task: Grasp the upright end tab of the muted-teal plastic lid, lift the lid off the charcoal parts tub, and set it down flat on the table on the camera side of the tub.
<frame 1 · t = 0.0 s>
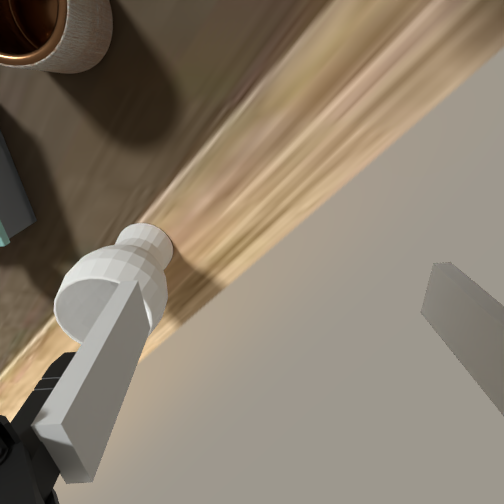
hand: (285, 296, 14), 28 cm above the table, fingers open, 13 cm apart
cup: (146, 247, 44), on the table
planter: (61, 12, 32), on the table
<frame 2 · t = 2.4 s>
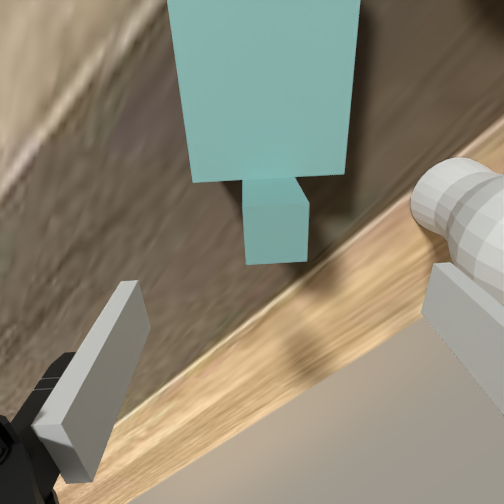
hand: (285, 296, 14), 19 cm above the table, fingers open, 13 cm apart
cup: (446, 194, 32), on the table
lid: (264, 50, 21), point 6 cm above the table, touching tub
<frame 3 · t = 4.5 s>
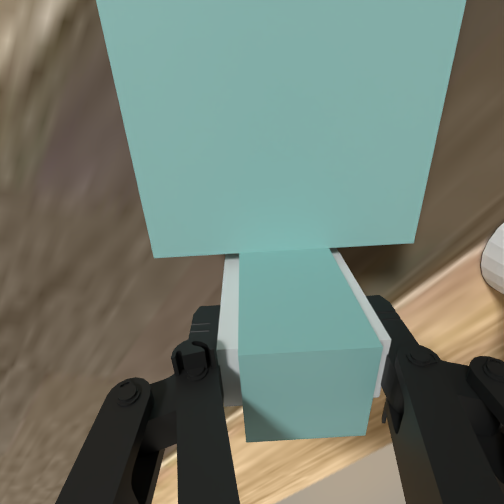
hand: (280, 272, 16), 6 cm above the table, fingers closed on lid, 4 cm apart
lid: (280, 27, 11), point 6 cm above the table, touching gripper, tub
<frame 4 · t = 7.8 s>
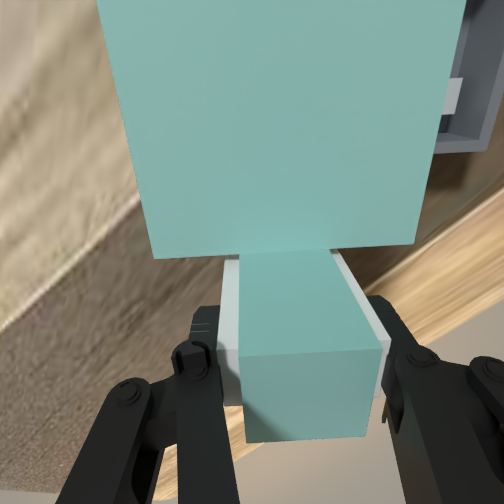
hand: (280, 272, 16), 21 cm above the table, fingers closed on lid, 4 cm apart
tub: (411, 56, 30), on the table
lid: (280, 28, 11), point 21 cm above the table, touching gripper
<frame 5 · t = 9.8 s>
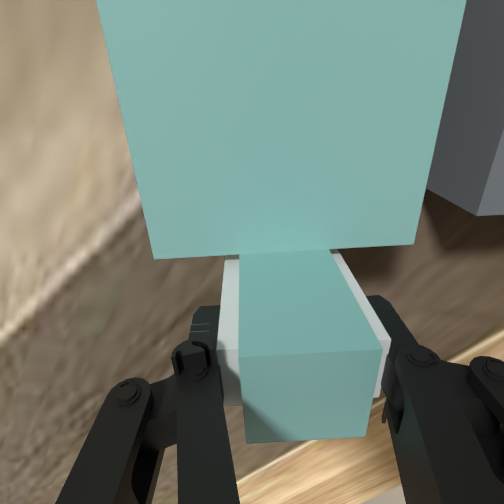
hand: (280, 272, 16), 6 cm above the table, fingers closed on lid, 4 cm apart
lid: (280, 28, 11), point 7 cm above the table, touching gripper
when the fingers open (1 cm above the table, at t = 11.4 s): lid drops 2 cm, on the table.
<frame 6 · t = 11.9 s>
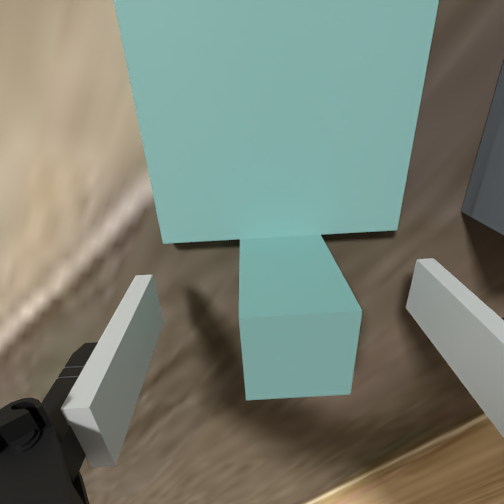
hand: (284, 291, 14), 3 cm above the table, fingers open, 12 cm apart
lid: (275, 37, 12), on the table
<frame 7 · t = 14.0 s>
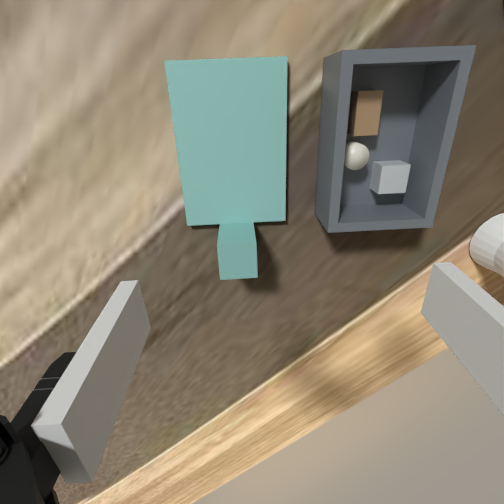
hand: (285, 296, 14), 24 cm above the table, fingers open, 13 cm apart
cup: (497, 239, 41), on the table
tub: (368, 141, 34), on the table
lid: (232, 148, 34), on the table
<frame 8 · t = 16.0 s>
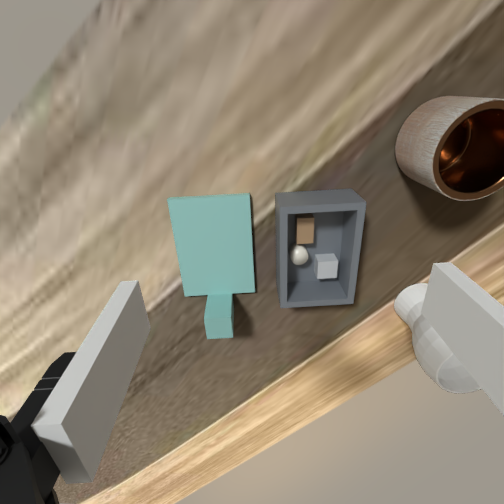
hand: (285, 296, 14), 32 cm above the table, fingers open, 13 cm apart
cup: (415, 300, 55), on the table
planter: (432, 140, 42), on the table
tub: (311, 240, 48), on the table
lid: (215, 246, 48), on the table
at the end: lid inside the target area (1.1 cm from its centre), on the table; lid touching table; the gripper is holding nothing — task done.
